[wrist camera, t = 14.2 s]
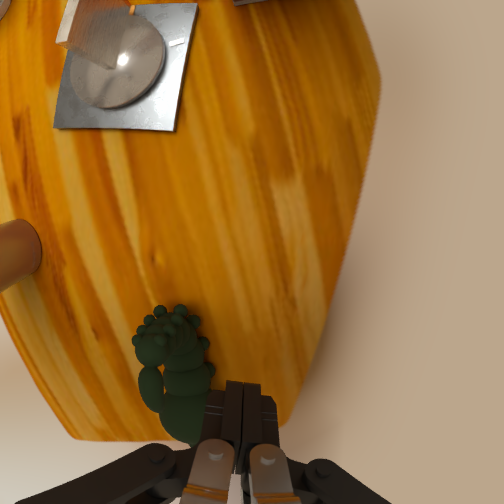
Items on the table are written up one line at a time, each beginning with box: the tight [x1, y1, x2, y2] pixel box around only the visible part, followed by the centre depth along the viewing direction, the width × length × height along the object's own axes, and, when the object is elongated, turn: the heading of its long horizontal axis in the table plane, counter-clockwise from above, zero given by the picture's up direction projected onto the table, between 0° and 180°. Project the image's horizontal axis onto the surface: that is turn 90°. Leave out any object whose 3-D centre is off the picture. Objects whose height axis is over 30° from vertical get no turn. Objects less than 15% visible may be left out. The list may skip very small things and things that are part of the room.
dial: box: [55, 0, 165, 109], centre depth 26 cm, size 15×13×14 cm
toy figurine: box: [132, 304, 215, 448], centre depth 38 cm, size 9×19×25 cm
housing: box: [53, 3, 199, 132], centre depth 34 cm, size 18×18×2 cm
